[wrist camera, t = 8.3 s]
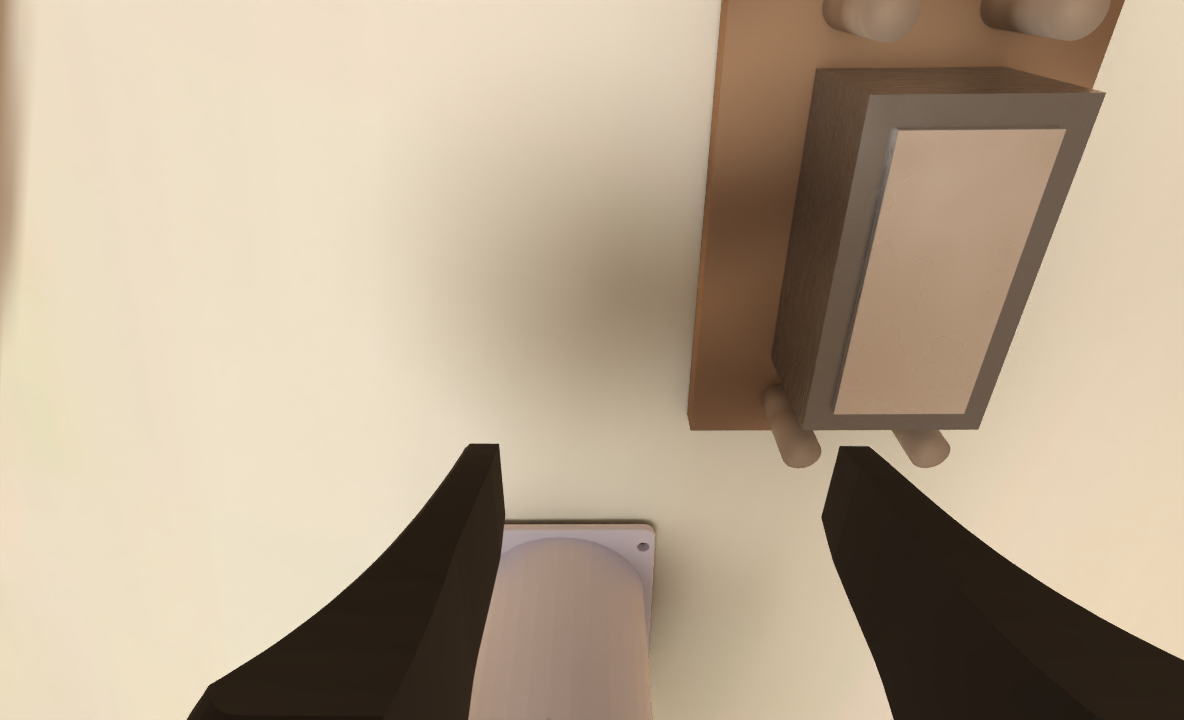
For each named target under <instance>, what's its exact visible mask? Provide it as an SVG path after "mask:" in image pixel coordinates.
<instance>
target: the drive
mask: <svg viewBox="0 0 1184 720" xmlns="http://www.w3.org/2000/svg"><path fill="white" fill-rule="evenodd" d="M1105 94H1106V93H1105V92H1102V91H1098V90H1094V89H1090V88H1086V87H1082V86H1078V85H1074V84H1070V83H1066V82H1063V81H1059V80H1055V79H1051V78H1047V77H1043V76H1039V75H1035V74H1031V73H1028V72H1024V71H1020V70H1016V69H1012V68H1008V67H927V68H823V69H816V72H815V78H814V84H813V91H812V97H811V104H810V110H809V116H808V123H807V129H806V135H805V142H804V148H803V154H802V161H801V167H800V173H799V180H798V186H797V192H796V199H795V205H794V212H793V218H792V224H791V231H790V237H789V243H788V250H787V256H786V262H785V269H784V275H783V281H782V288H781V294H780V300H779V307H778V313H777V320H776V326H775V332H774V339H773V345H772V351H771V360H772V362H773V364H774V366H775V369H776V371H777V373H778V376H779V378H780V380H781V382H782V385H783V387H784V389H785V392H786V394H787V396H788V398H789V401H790V403H791V405H792V407H793V410H794V412H795V414H796V417H797V419H798V421H799V423H800V426H801V428H802V430H971V429H979V426H980V424H981V421H982V418H983V416H984V413H985V410H986V408H987V405H988V402H989V400H990V397H991V395H992V392H993V389H994V387H995V384H996V381H997V379H998V376H999V373H1000V371H1001V368H1002V366H1003V363H1004V360H1005V358H1006V355H1007V352H1008V350H1009V347H1010V344H1011V342H1012V339H1013V337H1014V334H1015V331H1016V329H1017V326H1018V323H1019V321H1020V318H1021V315H1022V313H1023V310H1024V308H1025V305H1026V302H1027V300H1028V297H1029V294H1030V292H1031V289H1032V286H1033V284H1034V281H1035V279H1036V276H1037V273H1038V271H1039V268H1040V265H1041V263H1042V260H1043V257H1044V255H1045V252H1046V250H1047V247H1048V244H1049V242H1050V239H1051V236H1052V234H1053V231H1054V229H1055V226H1056V223H1057V221H1058V218H1059V215H1060V213H1061V210H1062V207H1063V205H1064V202H1065V200H1066V197H1067V194H1068V192H1069V189H1070V186H1071V184H1072V181H1073V178H1074V176H1075V173H1076V171H1077V168H1078V165H1079V163H1080V160H1081V157H1082V155H1083V152H1084V149H1085V147H1086V144H1087V142H1088V139H1089V136H1090V134H1091V131H1092V128H1093V126H1094V123H1095V120H1096V118H1097V115H1098V113H1099V110H1100V107H1101V105H1102V102H1103V99H1104V97H1105Z"/></svg>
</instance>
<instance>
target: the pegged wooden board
mask: <svg viewBox="0 0 1184 720" xmlns="http://www.w3.org/2000/svg"><path fill="white" fill-rule="evenodd" d="M1124 1H1125V0H722V4H721V16H720V28H719V40H718V52H717V64H716V76H715V88H714V100H713V112H712V124H711V136H710V148H709V160H708V172H707V184H706V196H705V208H704V220H703V232H702V244H701V256H700V268H699V280H698V292H697V304H696V316H695V328H694V340H693V352H692V364H691V376H690V388H689V400H688V412H687V415H688V420H689V425H690V430H772V432H773V435H774V437H775V440H776V443H777V445H778V448H779V451H780V453H781V456H782V459H783V461H784V462H785V464H787V465H788V466H790V467H793V468H805V467H808V466H810V465H812V464H814V463H815V462H816V461H817V460H818V459H819V457H820V455H821V447H820V445H819V443H818V441H817V439H816V436H815V434H814V432H813V430H802V428H801V426H800V423H799V421H798V419H797V417H796V414H795V412H794V410H793V407H792V405H791V403H790V401H789V398H788V396H787V394H786V392H785V389H784V387H783V385H782V382H781V380H780V378H779V376H778V373H777V371H776V369H775V366H774V364H773V362H772V360H771V351H772V345H773V339H774V332H775V326H776V320H777V313H778V307H779V300H780V294H781V288H782V281H783V275H784V269H785V262H786V256H787V250H788V243H789V237H790V231H791V224H792V218H793V212H794V205H795V199H796V192H797V186H798V180H799V173H800V167H801V161H802V154H803V148H804V142H805V135H806V129H807V123H808V116H809V110H810V104H811V97H812V91H813V84H814V78H815V72H816V69H823V68H927V67H1008V68H1012V69H1016V70H1020V71H1024V72H1028V73H1031V74H1035V75H1039V76H1043V77H1047V78H1051V79H1055V80H1059V81H1063V82H1066V83H1070V84H1074V85H1078V86H1082V87H1086V88H1090V89H1092V88H1093V85H1094V83H1095V80H1096V77H1097V74H1098V72H1099V69H1100V66H1101V64H1102V61H1103V58H1104V55H1105V53H1106V50H1107V47H1108V45H1109V42H1110V39H1111V36H1112V34H1113V31H1114V28H1115V26H1116V23H1117V20H1118V17H1119V15H1120V12H1121V9H1122V6H1123V4H1124ZM892 431H893V433H894V435H895V436H896V438H897V439H898V441H899V443H900V444H901V446H902V447H903V449H904V451H905V452H906V454H907V455H908V457H909V458H910V460H911V462H912V463H913V464H914V465H916V466H918V467H921V468H929V467H933V466H936V465H938V464H940V463H942V462H943V461H944V460H945V459H946V458H947V457H948V455H949V453H950V446H949V444H948V442H947V441H946V440H945V438H944V437H943V435H942V434H941V433H940V431H939V430H892Z"/></svg>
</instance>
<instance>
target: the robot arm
mask: <svg viewBox="0 0 1184 720" xmlns="http://www.w3.org/2000/svg"><path fill="white" fill-rule="evenodd" d="M822 521H823V525H824V529H825V533H826V537H827V541H828V545H829V548H830V552H831V555H832V559H833V562H834V565H835V567H836V570H837V572H838V575H839V577H840V579H841V582H842V584H843V587H844V589H845V592H846V594H847V596H848V599H849V601H850V604H851V606H852V608H853V611H854V613H855V615H856V618H857V620H858V623H859V625H860V627H861V630H862V632H863V634H864V637H865V639H866V642H867V644H868V646H869V649H870V651H871V653H872V656H873V658H874V661H875V663H876V666H877V669H878V672H879V674H880V677H881V680H882V683H883V686H884V689H885V692H886V696H887V699H888V702H889V705H890V709H891V712H892V715H893V718H894V720H1184V660H1182V659H1180V658H1178V657H1176V656H1174V655H1171V654H1169V653H1167V652H1165V651H1163V650H1161V649H1159V648H1157V647H1156V646H1154V645H1152V644H1150V643H1148V642H1146V641H1144V640H1142V639H1140V638H1138V637H1136V636H1134V635H1132V634H1130V633H1128V632H1126V631H1124V630H1122V629H1120V628H1119V627H1117V626H1115V625H1113V624H1111V623H1109V622H1107V621H1106V620H1104V619H1102V618H1100V617H1098V616H1097V615H1095V614H1093V613H1092V612H1090V611H1088V610H1086V609H1085V608H1083V607H1081V606H1079V605H1078V604H1076V603H1074V602H1073V601H1071V600H1069V599H1067V598H1066V597H1064V596H1062V595H1061V594H1059V593H1058V592H1056V591H1054V590H1053V589H1051V588H1049V587H1048V586H1046V585H1045V584H1043V583H1042V582H1040V581H1039V580H1037V579H1036V578H1034V577H1033V576H1031V575H1030V574H1028V573H1027V572H1025V571H1024V570H1022V569H1021V568H1019V567H1018V566H1016V565H1015V564H1013V563H1012V562H1010V561H1009V560H1007V559H1006V558H1004V557H1003V556H1002V555H1000V554H999V553H997V552H996V551H995V550H993V549H992V548H991V547H989V546H988V545H987V544H985V543H984V542H983V541H981V540H980V539H979V538H977V537H976V536H975V535H974V534H972V533H971V532H970V531H968V530H967V529H966V528H964V527H963V526H962V525H961V524H959V523H958V522H957V521H956V520H954V519H953V518H952V517H951V516H950V515H948V514H947V513H946V512H945V511H943V510H942V509H941V508H940V507H939V506H937V505H936V504H935V503H934V502H933V501H932V500H930V499H929V498H928V497H927V496H926V495H925V494H923V493H922V492H921V491H920V490H919V489H918V488H916V487H915V486H914V485H913V484H912V483H911V482H910V481H908V480H907V479H906V478H905V477H904V476H903V475H902V474H900V473H899V472H898V471H897V470H896V469H895V468H894V467H892V466H891V465H890V464H889V463H888V462H887V461H886V460H884V459H883V458H882V457H881V456H880V455H879V454H877V453H876V452H875V451H874V450H873V449H871V448H870V447H869V446H840V447H839V451H838V455H837V459H836V463H835V467H834V471H833V475H832V478H831V482H830V486H829V490H828V494H827V498H826V502H825V505H824V509H823V513H822ZM504 522H505V507H504V495H503V484H502V473H501V462H500V450H499V444H469V445H468V446H467V447H466V448H465V449H464V451H463V453H462V454H461V456H460V457H459V459H458V460H457V462H456V463H455V465H454V466H453V468H452V469H451V471H450V472H449V473H448V475H447V476H446V478H445V479H444V480H443V482H442V483H441V485H440V486H439V487H438V489H437V490H436V491H435V493H434V494H433V495H432V496H431V498H430V499H429V500H428V502H427V503H426V504H425V506H424V507H423V508H422V509H421V511H420V512H419V513H418V514H417V516H416V517H415V518H414V519H413V520H412V521H411V523H410V524H409V525H408V526H407V527H406V528H405V529H404V531H403V532H402V533H401V534H400V535H399V536H398V537H397V539H396V540H395V541H394V542H393V543H392V544H391V545H390V546H389V547H388V548H387V549H386V551H385V552H384V553H383V554H382V555H381V556H380V557H379V558H378V559H377V560H376V561H375V562H374V563H373V564H372V565H371V566H370V567H369V568H368V569H367V570H366V571H364V572H363V573H362V574H361V575H360V576H359V577H358V578H357V579H356V580H355V581H354V582H353V583H351V584H350V585H349V586H348V587H347V588H346V589H345V590H343V591H342V592H341V593H340V594H339V595H338V596H337V597H336V598H334V599H333V600H332V601H331V602H330V603H328V604H327V605H326V606H325V607H324V608H322V609H321V610H320V611H319V612H317V613H316V614H315V615H314V616H312V617H311V618H310V619H308V620H307V621H306V622H304V623H303V624H302V625H300V626H299V627H297V628H296V629H295V630H293V631H292V632H291V633H289V634H288V635H287V636H285V637H284V638H283V639H281V640H280V641H278V642H277V643H276V644H274V645H273V646H271V647H270V648H268V649H267V650H265V651H264V652H262V653H261V654H259V655H257V656H256V657H254V658H253V659H251V660H249V661H248V662H246V663H245V664H243V665H241V666H240V667H238V668H237V669H235V670H233V671H232V672H230V673H229V674H227V675H225V676H224V677H222V678H221V679H219V680H217V681H216V682H214V683H212V684H210V685H209V686H208V688H207V689H206V691H205V693H204V694H203V696H202V697H201V699H200V700H199V701H198V703H197V704H196V706H195V707H194V709H193V710H192V712H191V713H190V715H189V717H188V718H187V720H653V719H652V705H651V692H650V678H649V665H648V655H649V638H650V621H651V603H652V586H653V569H654V552H655V531H654V529H653V528H652V526H650V525H647V524H504ZM640 543H646V544H640Z"/></svg>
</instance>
